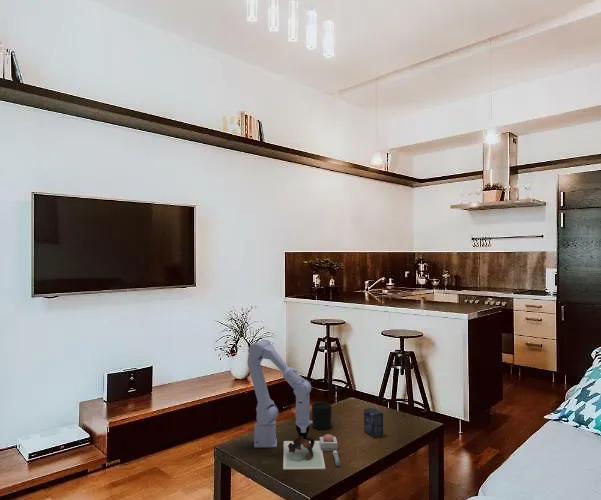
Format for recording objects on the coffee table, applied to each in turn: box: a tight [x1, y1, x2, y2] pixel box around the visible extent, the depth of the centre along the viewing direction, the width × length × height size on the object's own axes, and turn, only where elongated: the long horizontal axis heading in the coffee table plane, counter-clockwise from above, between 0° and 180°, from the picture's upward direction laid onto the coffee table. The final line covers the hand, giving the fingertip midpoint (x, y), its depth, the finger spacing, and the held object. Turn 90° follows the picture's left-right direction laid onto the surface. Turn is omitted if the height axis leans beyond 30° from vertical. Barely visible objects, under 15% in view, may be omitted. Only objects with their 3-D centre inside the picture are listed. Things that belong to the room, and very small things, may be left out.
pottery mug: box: [288, 436, 316, 460], centre depth 181 cm, size 12×10×8 cm
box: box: [363, 407, 384, 438], centre depth 204 cm, size 8×6×11 cm
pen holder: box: [311, 401, 332, 430], centre depth 213 cm, size 9×9×10 cm
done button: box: [323, 433, 334, 442], centre depth 189 cm, size 4×4×3 cm
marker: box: [332, 450, 341, 467], centre depth 176 cm, size 2×10×2 cm, turn 2°
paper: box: [282, 440, 326, 471], centre depth 182 cm, size 16×26×1 cm, turn 2°
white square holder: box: [319, 436, 338, 452], centre depth 189 cm, size 7×7×3 cm
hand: (302, 443), depth 186 cm, fingers closed
